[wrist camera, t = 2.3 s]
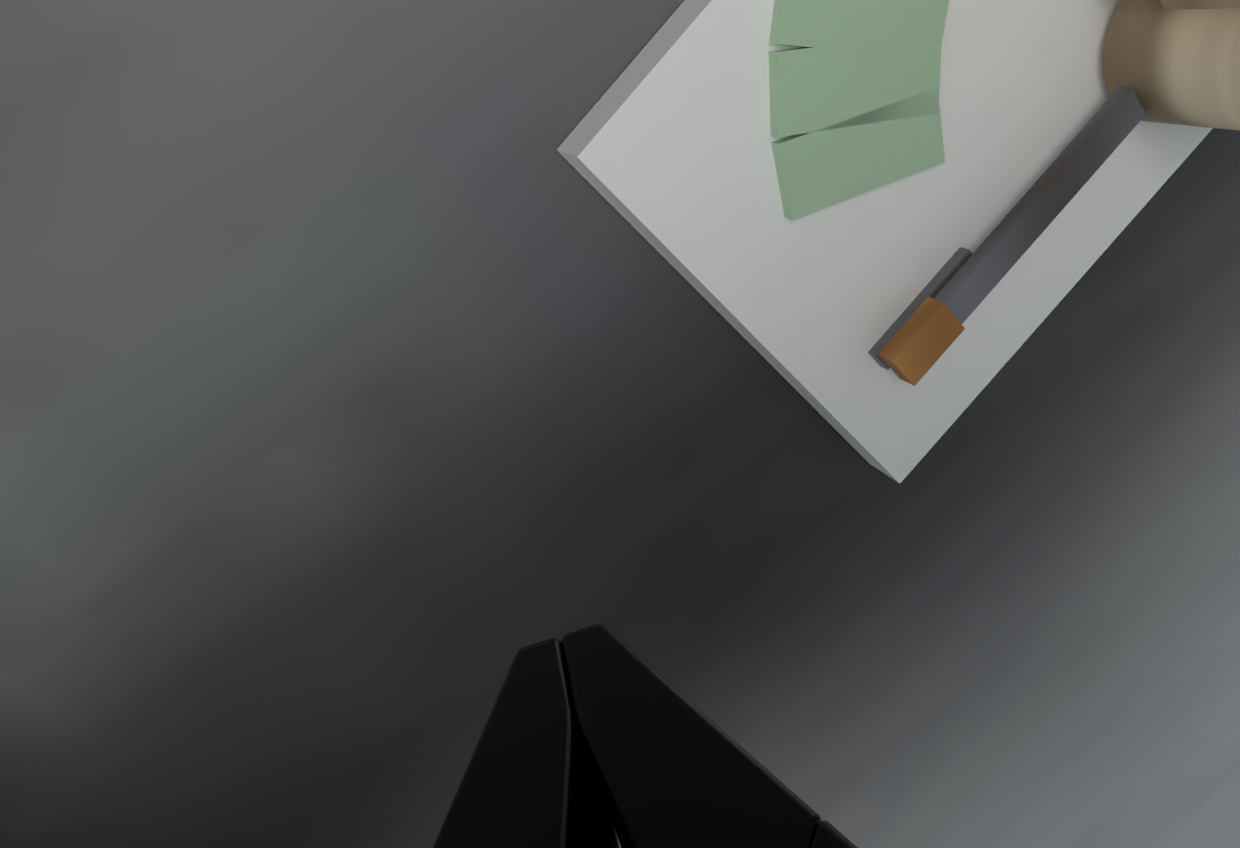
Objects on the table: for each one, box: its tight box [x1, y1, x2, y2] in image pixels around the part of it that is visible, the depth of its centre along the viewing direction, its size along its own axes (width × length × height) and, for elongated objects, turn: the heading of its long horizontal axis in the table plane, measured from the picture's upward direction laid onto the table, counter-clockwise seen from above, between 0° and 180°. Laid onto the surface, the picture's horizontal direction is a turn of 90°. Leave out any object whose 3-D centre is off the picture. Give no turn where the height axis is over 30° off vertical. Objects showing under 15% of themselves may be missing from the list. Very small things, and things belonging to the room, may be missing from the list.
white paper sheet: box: [557, 0, 1213, 483], centre depth 20 cm, size 13×11×2 cm
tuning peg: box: [878, 0, 1240, 386], centre depth 15 cm, size 11×11×8 cm
